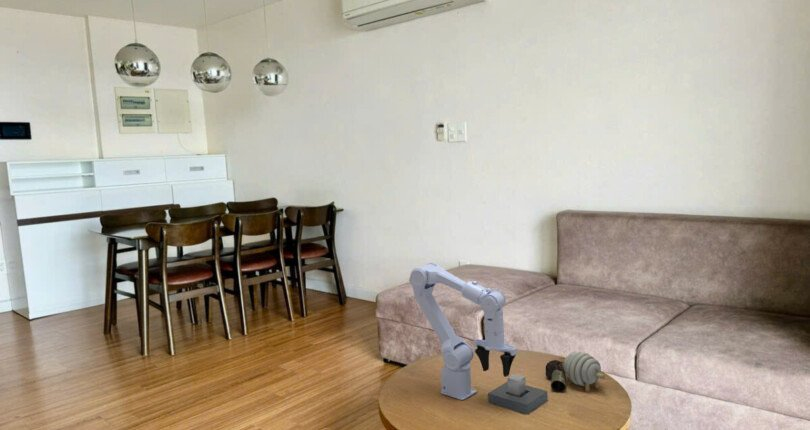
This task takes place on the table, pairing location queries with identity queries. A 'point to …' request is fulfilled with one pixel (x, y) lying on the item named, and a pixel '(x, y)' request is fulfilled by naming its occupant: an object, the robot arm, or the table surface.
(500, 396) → the grey slab with hole
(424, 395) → the table surface
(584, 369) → the toy sheep
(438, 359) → the table surface
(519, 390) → the grey wooden block
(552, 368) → the tube with rough end
